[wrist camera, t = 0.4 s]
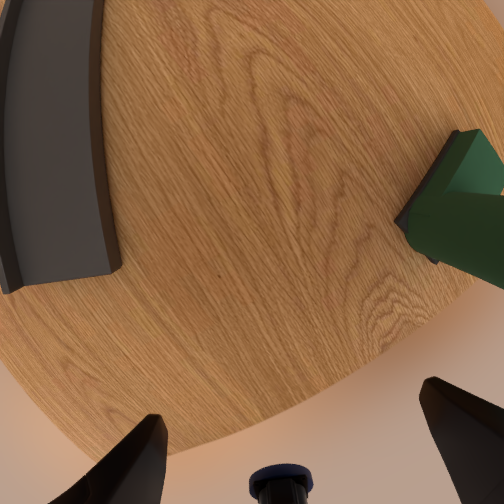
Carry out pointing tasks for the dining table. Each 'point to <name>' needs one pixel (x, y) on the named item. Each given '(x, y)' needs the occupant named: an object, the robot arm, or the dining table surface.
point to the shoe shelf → (52, 145)
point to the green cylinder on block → (460, 209)
